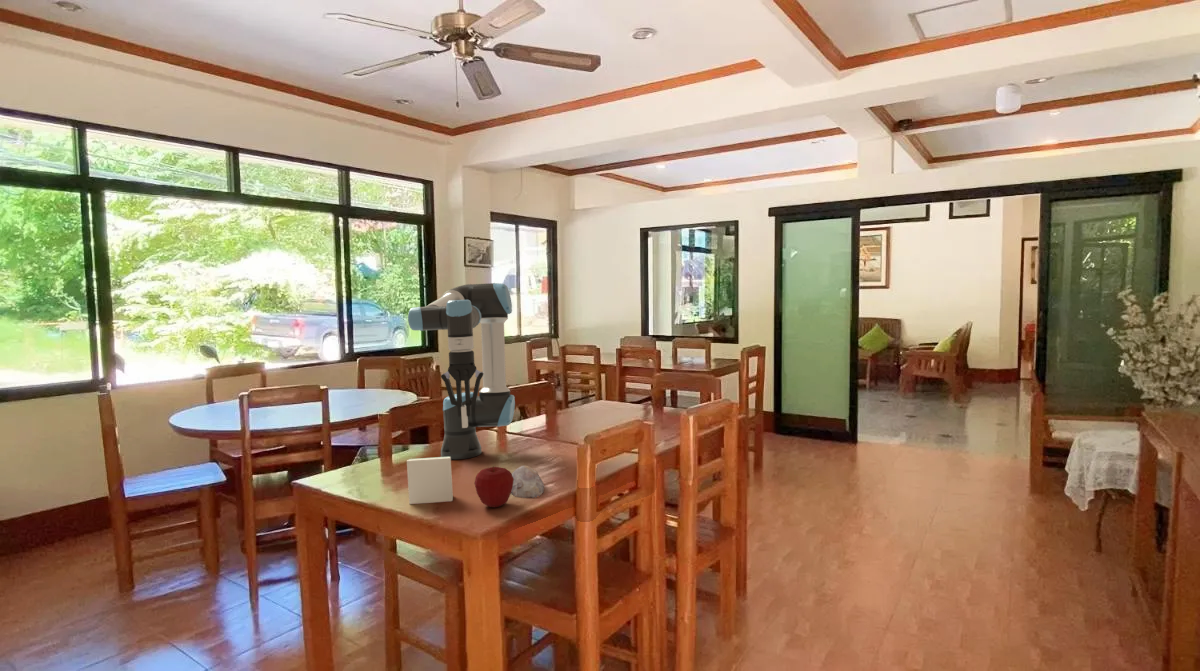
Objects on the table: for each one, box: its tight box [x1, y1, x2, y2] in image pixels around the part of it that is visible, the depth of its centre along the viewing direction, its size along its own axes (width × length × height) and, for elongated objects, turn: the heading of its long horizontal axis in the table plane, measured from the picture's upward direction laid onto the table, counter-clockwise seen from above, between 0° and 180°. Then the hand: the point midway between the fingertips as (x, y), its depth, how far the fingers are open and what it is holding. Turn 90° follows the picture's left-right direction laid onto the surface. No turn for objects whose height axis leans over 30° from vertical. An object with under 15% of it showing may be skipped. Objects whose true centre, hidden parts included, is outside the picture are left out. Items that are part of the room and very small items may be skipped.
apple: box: [474, 466, 514, 508], centre depth 182 cm, size 11×11×12 cm
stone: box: [511, 465, 545, 499], centre depth 196 cm, size 17×10×10 cm
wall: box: [406, 457, 454, 505], centre depth 187 cm, size 1×12×13 cm, turn 96°
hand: (465, 426), depth 194 cm, fingers closed
